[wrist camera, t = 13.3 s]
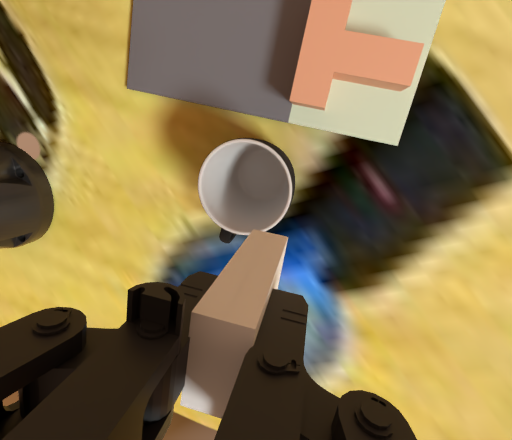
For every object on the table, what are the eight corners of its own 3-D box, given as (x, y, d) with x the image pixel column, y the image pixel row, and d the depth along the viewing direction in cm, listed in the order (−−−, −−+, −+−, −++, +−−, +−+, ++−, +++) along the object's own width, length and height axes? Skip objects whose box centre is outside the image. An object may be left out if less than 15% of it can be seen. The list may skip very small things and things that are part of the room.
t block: (293, 104, 35) (289, 100, 31) (316, 0, 32) (315, -18, 28) (390, 124, 33) (398, 122, 30) (423, 17, 30) (438, 1, 27)
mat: (130, 89, 39) (126, 88, 38) (141, -46, 35) (137, -50, 34) (395, 145, 34) (397, 145, 34) (444, -1, 30) (447, -5, 30)
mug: (246, 123, 37) (219, 120, 28) (314, 158, 37) (311, 167, 27) (207, 210, 41) (172, 234, 31) (268, 243, 40) (251, 277, 31)
